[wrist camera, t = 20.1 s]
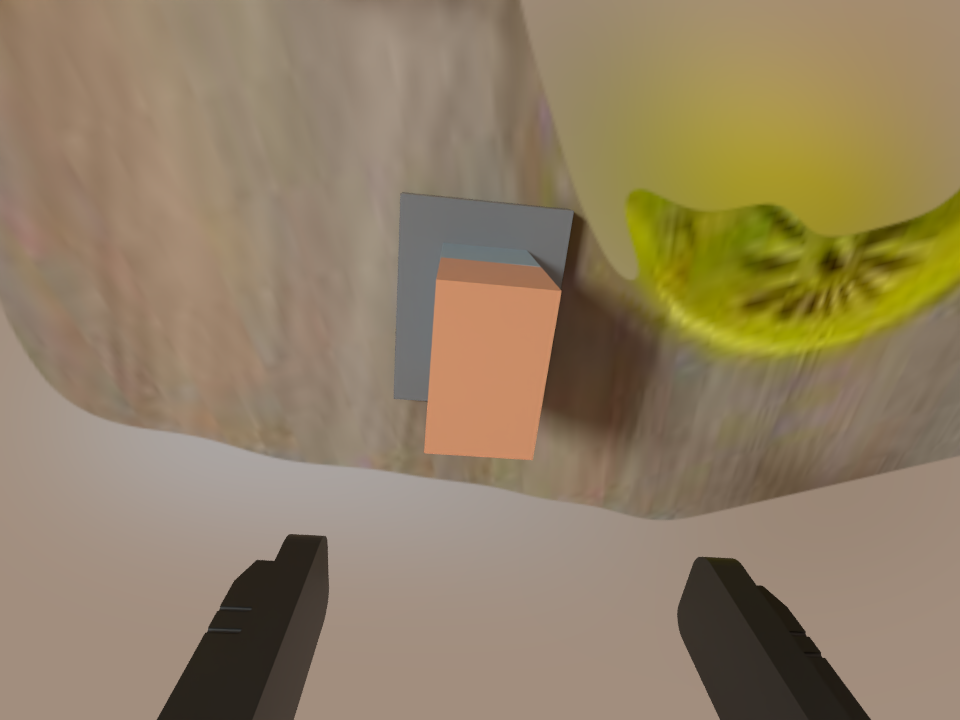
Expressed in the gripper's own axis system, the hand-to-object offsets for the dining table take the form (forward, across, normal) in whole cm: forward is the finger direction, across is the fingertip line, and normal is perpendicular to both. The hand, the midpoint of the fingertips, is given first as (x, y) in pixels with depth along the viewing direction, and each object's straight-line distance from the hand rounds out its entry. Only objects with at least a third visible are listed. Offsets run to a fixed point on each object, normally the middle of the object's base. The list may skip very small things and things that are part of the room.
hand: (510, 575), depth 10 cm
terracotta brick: (+15, 0, 0) cm, 15 cm away
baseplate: (+22, 0, 0) cm, 22 cm away
